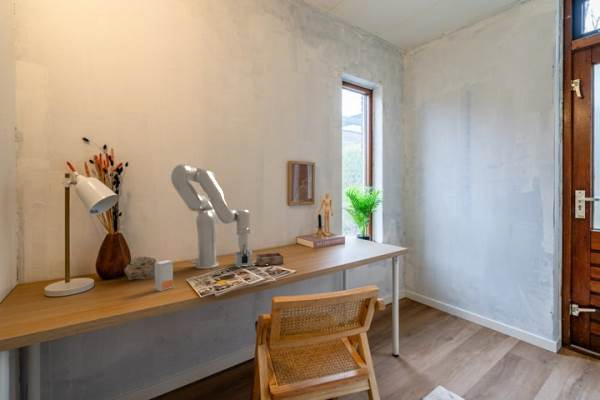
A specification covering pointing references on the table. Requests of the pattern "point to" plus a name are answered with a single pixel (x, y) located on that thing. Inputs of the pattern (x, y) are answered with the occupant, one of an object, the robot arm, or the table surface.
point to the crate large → (270, 259)
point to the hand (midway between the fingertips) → (243, 261)
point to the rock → (141, 268)
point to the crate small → (239, 258)
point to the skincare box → (163, 275)
